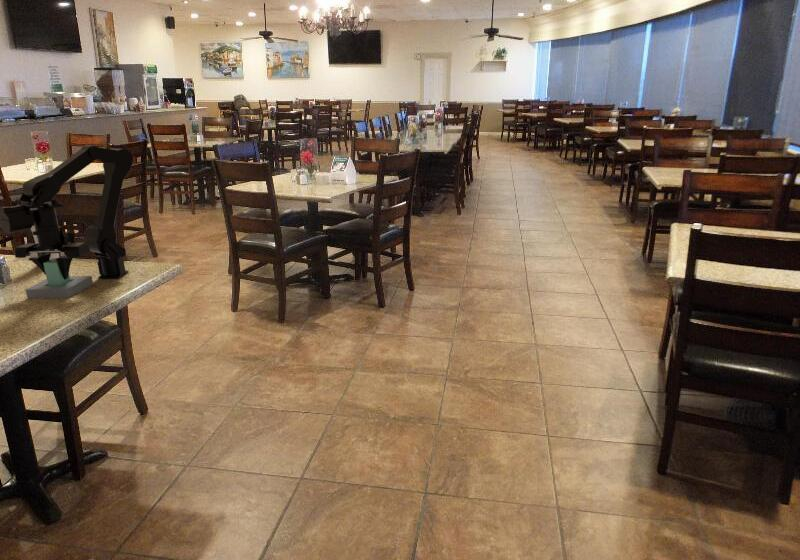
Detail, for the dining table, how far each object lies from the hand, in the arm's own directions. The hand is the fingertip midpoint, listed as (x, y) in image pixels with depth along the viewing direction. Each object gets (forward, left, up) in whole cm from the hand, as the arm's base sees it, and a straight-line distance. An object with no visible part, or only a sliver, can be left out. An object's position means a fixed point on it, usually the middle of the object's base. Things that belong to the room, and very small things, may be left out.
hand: (58, 279), depth 165 cm
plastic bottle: (+22, -28, -4) cm, 36 cm away
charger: (0, 0, -2) cm, 3 cm away
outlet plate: (0, 0, -4) cm, 4 cm away
